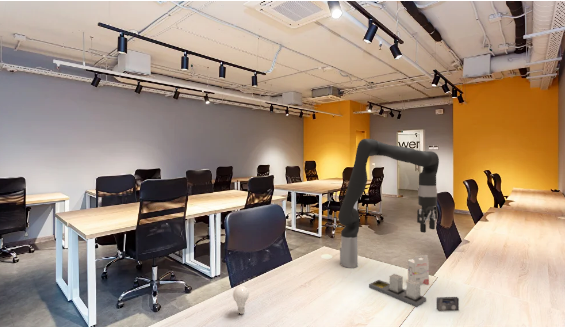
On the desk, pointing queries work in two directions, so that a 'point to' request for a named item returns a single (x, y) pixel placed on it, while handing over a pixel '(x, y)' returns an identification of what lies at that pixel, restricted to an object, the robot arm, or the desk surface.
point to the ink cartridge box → (419, 269)
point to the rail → (385, 289)
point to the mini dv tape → (447, 303)
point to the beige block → (396, 284)
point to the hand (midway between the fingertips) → (427, 230)
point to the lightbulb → (241, 298)
